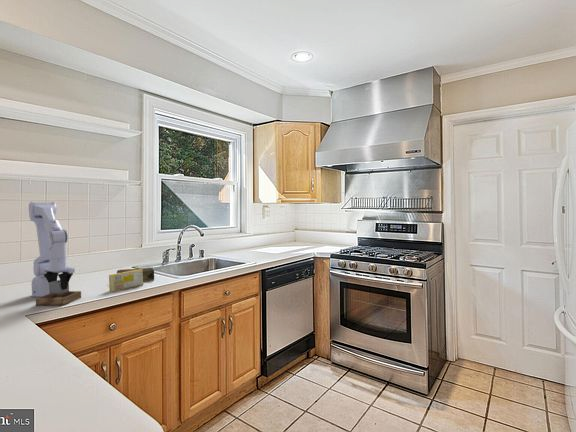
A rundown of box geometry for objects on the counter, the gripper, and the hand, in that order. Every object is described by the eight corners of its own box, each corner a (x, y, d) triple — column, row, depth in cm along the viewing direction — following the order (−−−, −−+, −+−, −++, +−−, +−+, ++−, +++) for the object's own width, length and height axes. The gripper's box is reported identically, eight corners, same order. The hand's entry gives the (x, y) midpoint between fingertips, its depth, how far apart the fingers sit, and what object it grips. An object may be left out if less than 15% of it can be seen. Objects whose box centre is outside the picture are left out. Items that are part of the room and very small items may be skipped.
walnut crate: (35, 305, 136) (35, 298, 136) (55, 297, 148) (55, 291, 148) (63, 305, 136) (63, 298, 136) (81, 297, 148) (80, 291, 147)
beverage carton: (154, 280, 181) (154, 268, 180) (115, 284, 173) (115, 272, 173) (154, 277, 188) (154, 266, 188) (117, 281, 180) (116, 269, 180)
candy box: (141, 284, 172) (141, 269, 171) (143, 285, 170) (143, 269, 170) (109, 291, 159) (108, 274, 159) (110, 291, 158) (110, 274, 157)
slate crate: (49, 294, 140) (48, 282, 140) (59, 291, 145) (59, 280, 144) (59, 294, 139) (58, 283, 139) (69, 291, 144) (68, 280, 144)
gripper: (79, 256, 144) (80, 287, 144) (52, 256, 146) (53, 286, 147) (66, 259, 137) (67, 291, 137) (37, 258, 139) (38, 290, 140)
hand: (59, 289), depth 142 cm, fingers closed on slate crate, 5 cm apart
